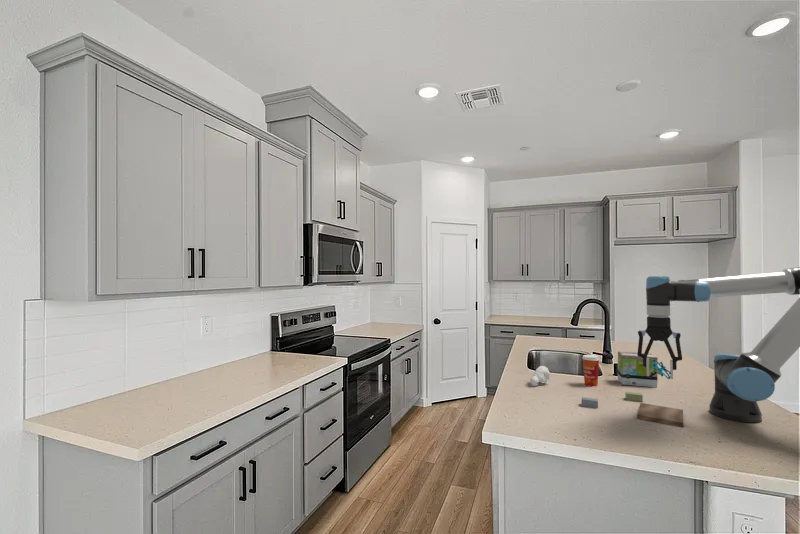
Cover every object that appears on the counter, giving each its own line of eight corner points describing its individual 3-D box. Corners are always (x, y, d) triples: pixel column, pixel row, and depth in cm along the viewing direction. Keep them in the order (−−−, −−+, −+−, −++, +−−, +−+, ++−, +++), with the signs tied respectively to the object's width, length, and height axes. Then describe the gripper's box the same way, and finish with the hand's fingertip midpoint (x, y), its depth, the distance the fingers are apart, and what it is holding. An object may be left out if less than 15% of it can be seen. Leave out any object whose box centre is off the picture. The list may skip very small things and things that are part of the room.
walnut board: (683, 413, 150) (683, 409, 150) (683, 427, 137) (683, 422, 137) (640, 406, 158) (640, 402, 158) (637, 418, 145) (637, 414, 145)
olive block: (641, 400, 167) (641, 393, 167) (642, 402, 164) (642, 395, 164) (625, 398, 169) (625, 391, 169) (626, 400, 166) (626, 393, 166)
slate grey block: (598, 406, 159) (598, 399, 159) (598, 408, 157) (597, 401, 157) (581, 404, 162) (581, 397, 162) (581, 406, 159) (581, 399, 159)
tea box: (622, 385, 188) (622, 354, 188) (617, 380, 198) (617, 350, 198) (658, 388, 184) (657, 356, 184) (651, 382, 193) (650, 352, 194)
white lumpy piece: (550, 366, 191) (536, 372, 184) (552, 383, 191) (537, 390, 184) (539, 363, 196) (525, 369, 189) (540, 380, 196) (526, 387, 189)
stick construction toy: (677, 375, 142) (661, 357, 145) (660, 386, 142) (644, 367, 145) (665, 376, 153) (650, 359, 156) (650, 386, 153) (635, 369, 156)
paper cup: (578, 383, 191) (578, 355, 191) (589, 382, 194) (589, 353, 194) (592, 388, 184) (592, 358, 184) (603, 386, 187) (603, 356, 187)
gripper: (690, 316, 146) (691, 378, 145) (629, 314, 157) (630, 371, 157) (690, 318, 140) (692, 383, 139) (627, 315, 151) (628, 375, 151)
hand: (659, 376), depth 148 cm, fingers closed on stick construction toy, 7 cm apart
